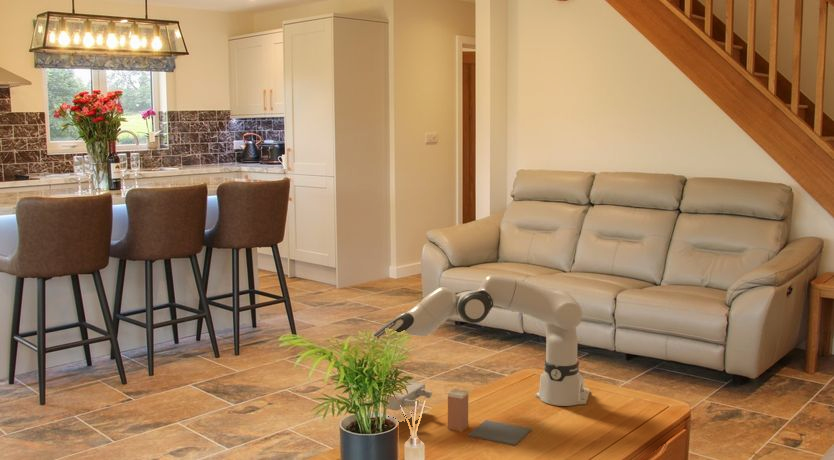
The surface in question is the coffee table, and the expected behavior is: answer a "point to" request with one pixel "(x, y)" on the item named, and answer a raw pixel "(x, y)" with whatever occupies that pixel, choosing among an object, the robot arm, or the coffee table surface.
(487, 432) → the slate mat
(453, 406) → the tall block
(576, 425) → the coffee table surface
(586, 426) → the coffee table surface
